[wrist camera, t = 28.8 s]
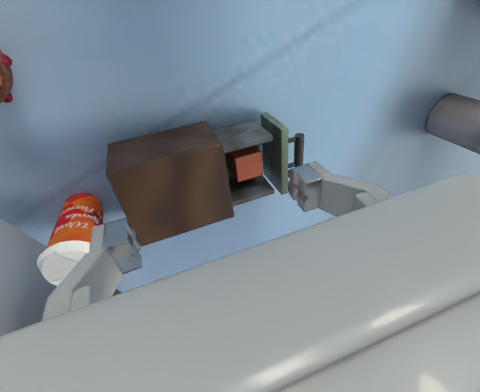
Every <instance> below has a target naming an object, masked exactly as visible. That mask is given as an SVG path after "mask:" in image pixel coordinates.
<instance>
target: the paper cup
mask: <svg viewBox="0 0 480 392" xmlns="http://www.w3.org/2000/svg"><path fill="white" fill-rule="evenodd" d="M102 224H103V211H102V204H101V202H100V200H99V199H98V198H96V197H95V196H93V195H90V194H85V193H80V194H75V195H73V196H71V197H69V198H68V199H67V200H66V202H65V204H64V206H63V208H62V210H61V213H60V215H59V218H58V220H57V223H56V225H55V228H54V230H53V233H52V235H51V238H50V240H49V243H48V245H47V248H46V250H45V251H44V252H43V253H42V254H40V255H39V257H38V260H37V266H38V268H39V269H40V271H41V273H42V274H43V276H44V278H45V279H46V280H47V281H48V282H50V283H51V284H54V285H57V286H58V285H59V284H60V283H61V282H62V281H63V279H64V278H65V277H66V276H67V275H68V274H69V272H70V271H71V270H72V269H73V268H74V267H75V266H76V264H77V263H78V262H79V261H80V260H81V259H82V257H83V256H84V255H85V254H87V253H89V249H90V241H91V233H92V228H93V227H95V226H98V225H102Z"/></svg>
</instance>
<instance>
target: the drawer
mask: <svg viewBox="0 0 480 392" xmlns="http://www.w3.org/2000/svg"><path fill="white" fill-rule="evenodd" d="M213 131H214V133H215V134H216V135H217V137H218V138H219V139H220V141H221V142H222V144H223V147H224V154H225V160H226V167H227V173H228V180H229V186H230V193H231V199H232V206H235V205H239V204H242V203H245V202H248V201H251V200H254V199H258V198H261V197H264V196H267V195H270V194H274V189H273V188H272V186H271V185H270V184H269V183H268V182H267V180H266V179H265V178H264V177H263V176H262V175H260V176H257V177H254V178H250V179H247V180H243V181H240V182H238V181H237V180H236V178H235V177H234V175H233V174H232V172H231V171H230V168H229V162H228V155H227V153H228V152H232V151H236V150H239V149H243V148H247V147H251V146H254V145H255V146H256V147H257V148H258V144H262V151H263V169H264V175H265V176H266V177H267V178H268V179H269V180H270V182H271V183H272V184H273V185H274V186H275V187H276V189H277V190H278V191H279V192H280V193H281V195H283V194H286V193H288V168H291V167H298V166H302V165H303V150H304V134H302V133H297V134H295V137H292V138H288V128H287V127H286V126H285V125H283V124H282V123H281V122H279V121H278V120H277V119H275V118H274V117H272V116H271V115H270V114H268V113H267V112H266V113H262V114H261V125H260V124H258V123H257V122H256V121H255V120H252V121H248V122H244V123H240V124H236V125H232V126H228V127H224V128H220V129H216V130H213ZM291 142H294V162H293V163H289V164H288V143H291Z"/></svg>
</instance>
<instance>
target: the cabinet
mask: <svg viewBox="0 0 480 392" xmlns="http://www.w3.org/2000/svg"><path fill="white" fill-rule="evenodd" d="M106 176H107V178H108V180H109V182H110V184H111V186H112V188H113V190H114V192H115V194H116V196H117V198H118V200H119V202H120V204H121V206H122V208H123V210H124V213H125V215H126V217H128V218H129V219H130V221H131V223H132V229H133V230H135V231H136V233H137V235H138V238H139V242H140V245H141V246H145V245H148V244H151V243H154V242H157V241H160V240H163V239H166V238H169V237H172V236H175V235H178V234H182V233H185V232H188V231H191V230H194V229H197V228H200V227H203V226H206V225H209V224H212V223H215V222H219V221H222V220H225V219H228V218H231V217H234V212H233V206H232V199H231V193H230V186H229V180H228V173H227V167H226V160H225V154H224V147H223V144H222V142H221V141H220V139H219V138H218V137H217V135H216V134H215V133H214V131H213V130H212V129H211V127H210V126H209V125H208V123H207V122H206V121H204V122H200V123H196V124H192V125H187V126H183V127H179V128H175V129H170V130H166V131H162V132H158V133H154V134H149V135H145V136H141V137H137V138H132V139H128V140H124V141H120V142H115V143H111V144H108V154H107V167H106Z"/></svg>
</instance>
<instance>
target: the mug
mask: <svg viewBox="0 0 480 392" xmlns="http://www.w3.org/2000/svg"><path fill="white" fill-rule="evenodd" d="M11 64H12V60H11V59H10V58H9V57H8V56H6V55H4V54H3V53H2V52H1V50H0V103H1V102H6V103H9V102H11V101H12V100H13V97H12V95H11V94H10V91H11V88H12V85H13V77H12V71H11V68H10V66H11Z"/></svg>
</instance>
